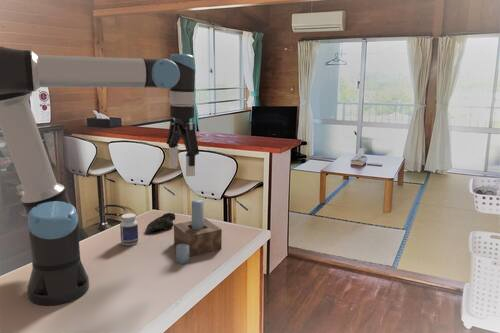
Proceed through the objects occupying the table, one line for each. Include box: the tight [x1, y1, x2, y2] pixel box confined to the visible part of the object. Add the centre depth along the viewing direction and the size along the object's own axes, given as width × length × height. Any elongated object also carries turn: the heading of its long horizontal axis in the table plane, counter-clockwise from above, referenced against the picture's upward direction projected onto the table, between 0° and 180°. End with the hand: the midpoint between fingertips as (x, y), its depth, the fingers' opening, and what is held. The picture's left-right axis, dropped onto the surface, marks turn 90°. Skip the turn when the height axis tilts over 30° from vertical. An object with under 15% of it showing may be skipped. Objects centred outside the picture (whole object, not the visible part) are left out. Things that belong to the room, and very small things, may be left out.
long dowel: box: [191, 199, 205, 231], centre depth 144 cm, size 4×4×16 cm
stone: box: [145, 212, 176, 235], centre depth 160 cm, size 7×13×5 cm, turn 141°
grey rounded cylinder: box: [175, 244, 190, 265], centre depth 134 cm, size 4×4×5 cm
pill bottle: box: [119, 212, 139, 247], centre depth 146 cm, size 6×6×10 cm
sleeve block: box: [173, 217, 223, 257], centre depth 145 cm, size 12×12×7 cm
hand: (181, 171), depth 138 cm, fingers open, 13 cm apart
